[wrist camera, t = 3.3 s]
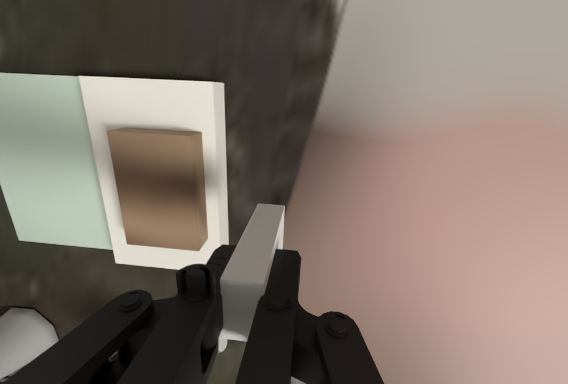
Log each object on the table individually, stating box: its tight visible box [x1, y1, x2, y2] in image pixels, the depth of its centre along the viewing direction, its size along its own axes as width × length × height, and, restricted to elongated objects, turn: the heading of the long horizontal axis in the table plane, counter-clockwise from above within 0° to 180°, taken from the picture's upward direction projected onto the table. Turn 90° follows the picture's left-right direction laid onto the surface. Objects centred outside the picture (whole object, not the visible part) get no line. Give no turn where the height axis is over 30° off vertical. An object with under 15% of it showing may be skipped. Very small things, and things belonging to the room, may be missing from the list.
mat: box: [0, 73, 113, 250], centre depth 25 cm, size 16×12×1 cm
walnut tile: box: [107, 127, 208, 251], centre depth 21 cm, size 9×6×2 cm, turn 177°
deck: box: [79, 76, 229, 270], centre depth 23 cm, size 16×10×2 cm, turn 177°
